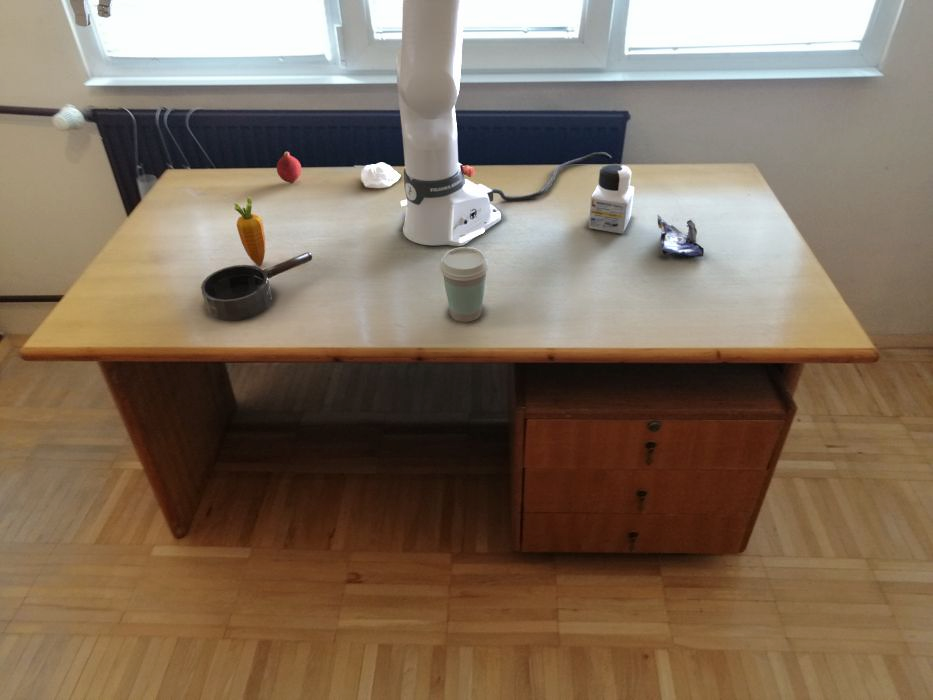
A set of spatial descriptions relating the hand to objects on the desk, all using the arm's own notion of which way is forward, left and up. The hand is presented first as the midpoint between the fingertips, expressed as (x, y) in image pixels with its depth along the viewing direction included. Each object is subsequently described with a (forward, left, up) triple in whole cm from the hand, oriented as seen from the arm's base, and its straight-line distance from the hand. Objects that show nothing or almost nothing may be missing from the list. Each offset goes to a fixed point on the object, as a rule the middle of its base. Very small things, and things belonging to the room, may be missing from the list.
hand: (94, 20), depth 122 cm
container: (-78, +53, -47) cm, 105 cm away
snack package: (-81, +69, -47) cm, 116 cm away
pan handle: (-14, +25, -44) cm, 53 cm away
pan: (-3, +25, -47) cm, 53 cm away
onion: (-36, -13, -47) cm, 61 cm away
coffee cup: (-33, +57, -47) cm, 81 cm away
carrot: (-12, +16, -47) cm, 51 cm away
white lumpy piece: (-53, +1, -47) cm, 71 cm away
